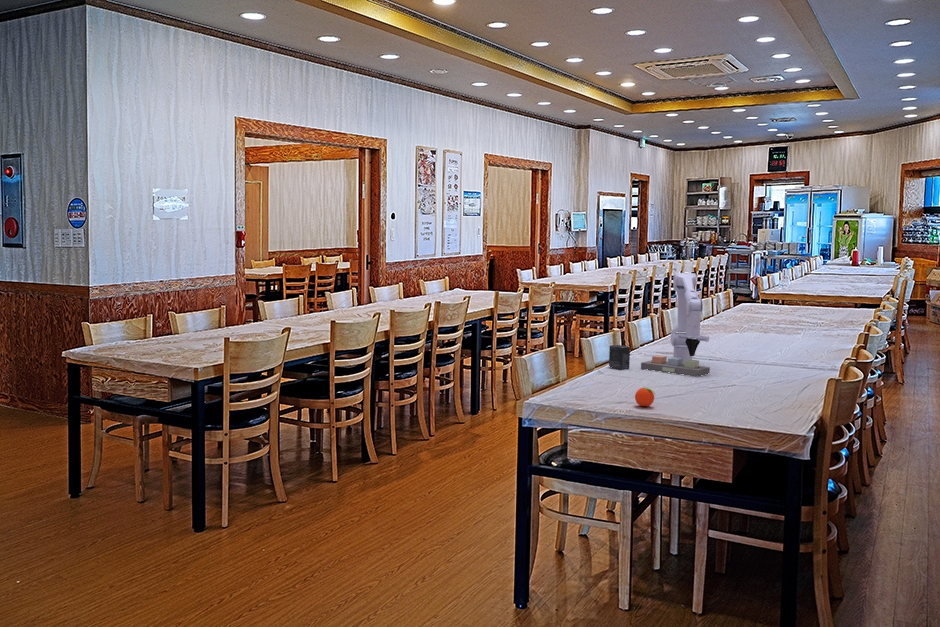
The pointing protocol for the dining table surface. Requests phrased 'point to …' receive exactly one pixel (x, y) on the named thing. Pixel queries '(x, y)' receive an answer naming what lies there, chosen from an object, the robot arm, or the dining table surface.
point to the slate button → (675, 361)
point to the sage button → (691, 363)
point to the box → (619, 356)
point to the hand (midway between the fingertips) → (691, 355)
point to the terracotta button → (659, 359)
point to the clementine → (644, 397)
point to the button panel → (675, 368)
